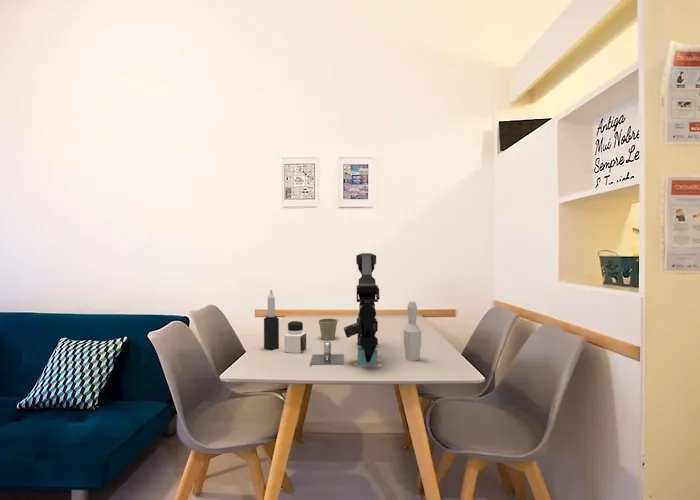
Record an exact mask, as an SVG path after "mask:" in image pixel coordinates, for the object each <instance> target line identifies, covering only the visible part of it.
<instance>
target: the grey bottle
mask: <svg viewBox="0 0 700 500" xmlns="http://www.w3.org/2000/svg"><path fill="white" fill-rule="evenodd" d="M417 312H418V307H417V302H416V301H412V300H411V301H408V304H407V317H408V318H407V320H408V321H407V322H408V323H407V324H406V326H404V329H403V346H404V354H405V359H406V360H407V361H411V362H412V361H419V360H420V355H421V347H422V330H421V329H420V327H419V325H417V314H418V313H417Z"/></svg>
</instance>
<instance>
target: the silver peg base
mask: <svg viewBox="0 0 700 500" xmlns="http://www.w3.org/2000/svg"><path fill="white" fill-rule="evenodd" d="M344 357H345V355H344V353H339V354H337V353H334V354H333V353H332V343H331V342H330V341H324V342H323V353H322V354H321V353H320V354H319V353H317V354H315V353H313V354H312V355H311V359H310V362H309V367H312V366H344Z"/></svg>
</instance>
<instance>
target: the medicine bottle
mask: <svg viewBox="0 0 700 500" xmlns="http://www.w3.org/2000/svg"><path fill="white" fill-rule="evenodd" d="M303 329H304V323H303V322H302V321H300V320H292V321H289V322H288V323H287V331H288V332H287V333H286V334H284V335H283V336H284V337H283V338H284V342H283V343H284V344H283V345H284V346H283V347H284V351H283V352H284V353H291V354H301V353H303V352H304V351H305V350H306V349H307V332H306V331H303Z"/></svg>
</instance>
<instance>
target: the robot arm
mask: <svg viewBox="0 0 700 500" xmlns="http://www.w3.org/2000/svg"><path fill="white" fill-rule="evenodd" d="M355 261H356V262H355V263H356V265H357V269H358V271H359V272H360V274H361V276H360V278H358V284H357V285H356V303H359V304H358V305H359V306H358V307H359V309H358V310H359V311H358V314H357V315H358V316H357V318H356V323H352V324H349V325H346V326H345V327H343V331H344V333H345V336H346V338H347V339H348V338H351V337H352V336H356V335H357V343H356V345H357V346H361V347H363V348H364V352H365V357H366V362H370V360H371V358H372V355H373V353H374V350H375V348H377V346H378V345H379V339H378V337H377V336H376V333H378V330H379V329H378V328H379V327H378V324H379V320H377V318H376V316H377V311H376V304H375V303H378V302H379V300H380V296H381V295H380V288H379V285H378V284H376V279H375V278H374V277H373V273H374V271H375V265H377V255H376V254H374V253H372V252H367V253H366V252H365V253H363V252H362V253H359V254H357V255H356V258H355Z"/></svg>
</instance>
